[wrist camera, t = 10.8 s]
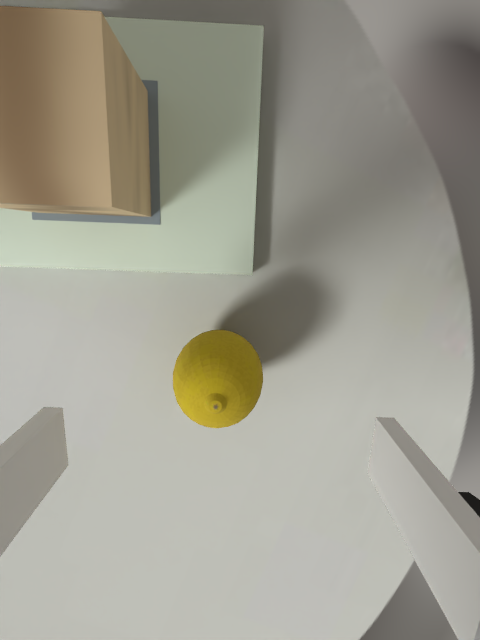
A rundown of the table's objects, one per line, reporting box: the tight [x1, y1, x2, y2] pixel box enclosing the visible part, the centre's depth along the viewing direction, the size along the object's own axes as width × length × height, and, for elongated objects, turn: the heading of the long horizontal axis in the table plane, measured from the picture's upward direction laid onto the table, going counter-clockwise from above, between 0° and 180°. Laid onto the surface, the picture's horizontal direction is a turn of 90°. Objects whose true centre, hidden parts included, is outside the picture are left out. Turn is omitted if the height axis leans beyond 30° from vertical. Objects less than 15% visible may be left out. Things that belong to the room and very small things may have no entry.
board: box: [0, 17, 264, 275], centre depth 21 cm, size 20×14×1 cm
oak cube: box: [0, 6, 151, 217], centre depth 17 cm, size 7×7×7 cm
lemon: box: [173, 330, 263, 428], centre depth 21 cm, size 6×6×8 cm
